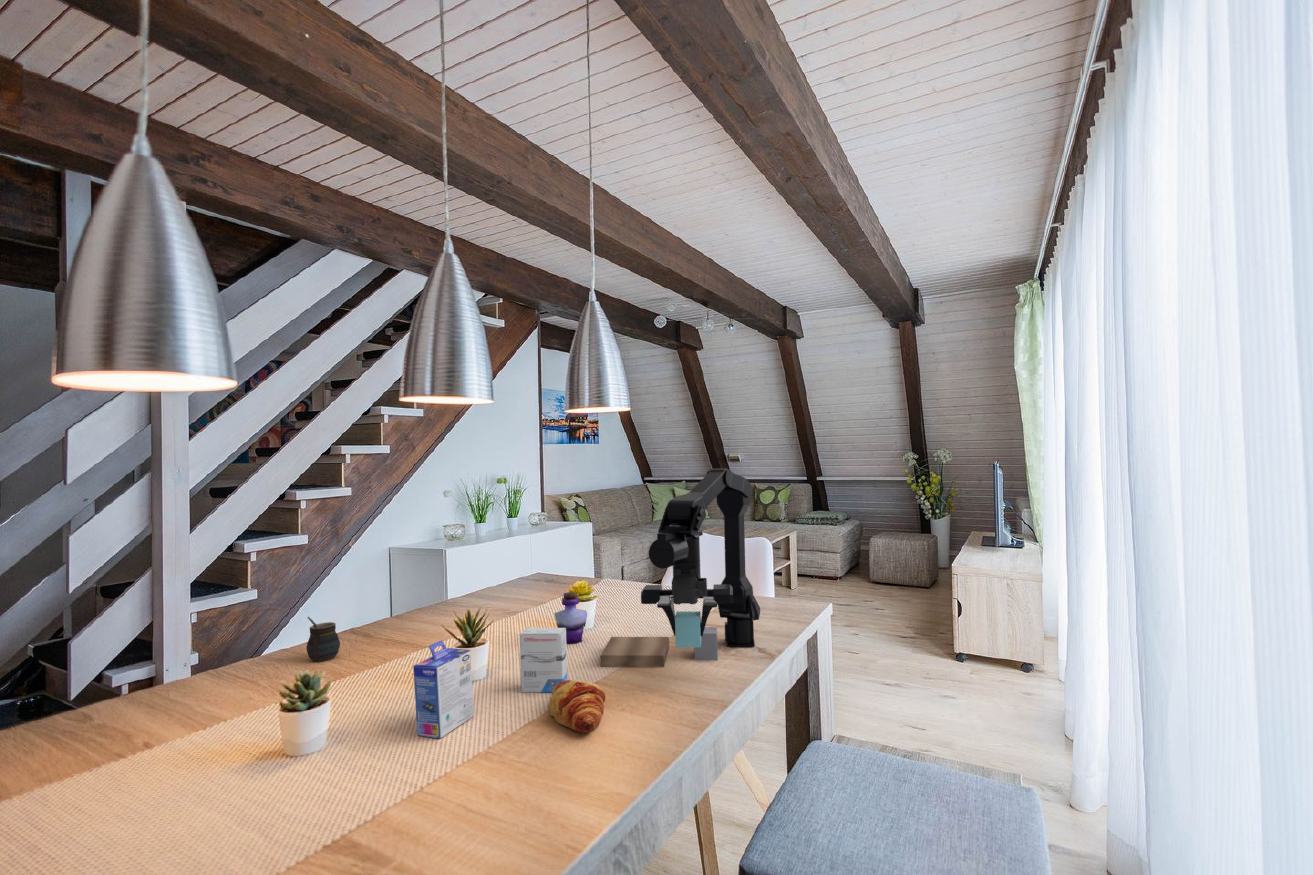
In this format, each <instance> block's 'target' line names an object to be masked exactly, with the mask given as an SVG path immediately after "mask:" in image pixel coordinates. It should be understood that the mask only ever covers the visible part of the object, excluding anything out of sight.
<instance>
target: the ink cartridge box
mask: <svg viewBox="0 0 1313 875" xmlns="http://www.w3.org/2000/svg"><path fill="white" fill-rule="evenodd" d="M437 647H442V649H440V650H438V651H435V649H437ZM428 648H429V649H430V650H429V651H430V653H431V656H430V657H428V658H426V659H424V660H422V661H421V662H418V663H417V664H414V665H413V667H412V668H413V681H414V683H413V684H414V685H413V686H414V699H415V700H414V701H415V718H416V734H417V736H420V737H427V738H433V739H441V738H444V737H445V736H447V735H448V734H449V733H450V732H452V731H453V730H455V729H457V728H459V726H461V725H463V724H464V723H465V722H467V721H469V720H470V719H471V718H473V717H474V716H475V712H474V692H473V691H474V690H473V675H472V674H473V673H472V672H473V671H472V653H471V652H472V650H470V649H463V648H456V647H455V648H453V647H452V648H451V647H450V648H447V647H446V645H445V643H444V641H443V640H439V641H437V642H435V643H432V644H430V645H429V646H428Z"/></svg>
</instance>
